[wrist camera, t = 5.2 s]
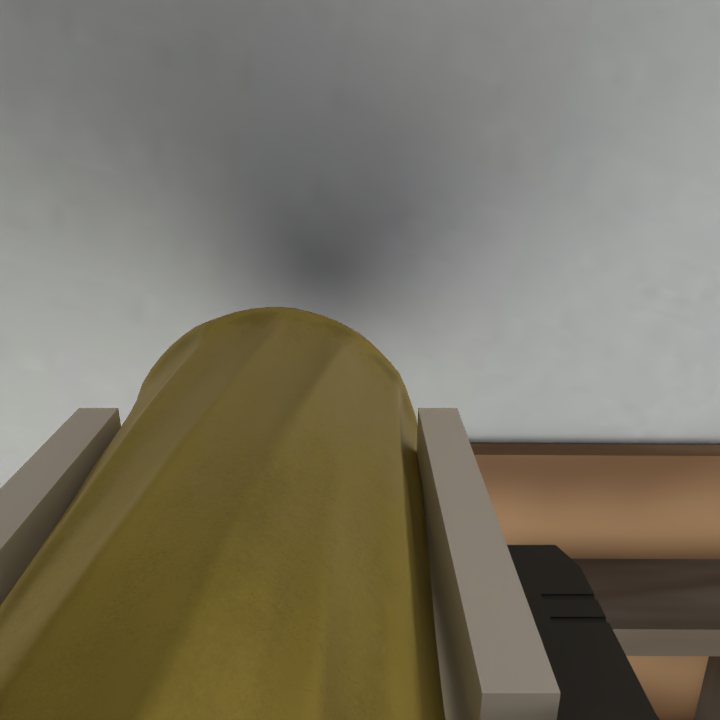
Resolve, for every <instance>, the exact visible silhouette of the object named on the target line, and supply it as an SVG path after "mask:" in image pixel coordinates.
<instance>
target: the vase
mask: <svg viewBox="0 0 720 720" xmlns="http://www.w3.org/2000/svg"><path fill="white" fill-rule="evenodd" d="M417 427H418V426H417V421H416V416H415V413H414V410H413V407H412V405H411V402H410V399H409V396H408V393H407V390H406V388H405V385H404V383H403V380H402V378H401V376H400V374H399V372H398V371H397V370H396V369H395V367H394V366H393V365H392V364H391V363H390V362H389V361H388V359H387V358H386V357H385V356H384V355H383V354H382V353H381V352H380V351H379V350H378V349H377V348H376V347H375V346H374V345H373V344H372V343H371V342H370V341H368V340H367V339H366V338H364V337H363V336H362V335H360V334H359V333H357V332H356V331H354V330H352V329H351V328H349V327H347V326H345V325H343V324H341V323H339V322H337V321H335V320H332V319H330V318H327V317H325V316H322V315H318V314H315V313H312V312H308V311H303V310H299V309H294V308H284V307H266V308H256V309H249V310H244V311H239V312H234V313H231V314H228V315H225V316H222V317H219V318H216V319H213V320H211V321H208V322H205V323H203V324H201V325H199V326H197V327H195V328H193V329H192V330H190V331H189V332H187V333H186V334H185V335H183V336H182V337H181V338H180V339H179V340H177V341H176V342H175V343H174V344H173V345H172V346H171V347H170V348H169V349H168V350H167V351H166V352H165V353H164V354H163V355H162V356H161V357H160V358H159V360H158V361H157V362H156V364H155V365H154V366H153V367H152V369H151V370H150V372H149V374H148V375H147V377H146V379H145V380H144V382H143V384H142V386H141V389H140V392H139V395H138V398H137V401H136V403H135V405H134V407H133V409H132V410H131V412H130V414H129V415H128V417H127V419H126V420H125V422H124V423H123V425H122V426H121V428H120V429H119V431H118V432H117V434H116V435H115V437H114V438H113V439H112V441H111V442H110V443H109V445H108V446H107V447H106V449H105V450H104V452H103V453H102V455H101V456H100V458H99V459H98V460H97V462H96V464H95V465H94V467H93V468H92V470H91V471H90V473H89V475H88V476H87V478H86V479H85V481H84V482H83V484H82V486H81V487H80V489H79V491H78V492H77V494H76V496H75V497H74V499H73V500H72V502H71V504H70V505H69V507H68V508H67V510H66V511H65V513H64V514H63V516H62V517H61V519H60V520H59V522H58V523H57V525H56V526H55V527H54V529H53V530H52V532H51V533H50V535H49V536H48V537H47V539H46V540H45V542H44V543H43V545H42V546H41V547H40V549H39V550H38V552H37V553H36V555H35V556H34V558H33V559H32V560H31V562H30V563H29V565H28V566H27V568H26V569H25V571H24V572H23V574H22V575H21V577H20V578H19V579H18V581H17V582H16V584H15V585H14V587H13V588H12V590H11V591H10V592H9V594H8V595H7V597H6V598H5V599H4V601H3V602H2V603H1V605H0V720H446V718H445V712H444V705H443V696H442V687H441V678H440V669H439V660H438V651H437V642H436V633H435V622H434V611H433V599H432V587H431V575H430V563H429V551H428V540H427V530H426V520H425V510H424V501H423V492H422V484H421V477H420V471H419V465H418V459H417V453H416V452H417Z"/></svg>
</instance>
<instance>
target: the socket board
mask: <svg viewBox="0 0 720 720" xmlns="http://www.w3.org/2000/svg"><path fill="white" fill-rule="evenodd" d="M470 445H471V448H472V450H473V453H474V456H475V459H476V461H477V464H478V467H479V470H480V472H481V475H482V478H483V481H484V483H485V486H486V489H487V492H488V494H489V497H490V500H491V503H492V506H493V508H494V511H495V514H496V517H497V519H498V522H499V525H500V528H501V530H502V533H503V536H504V539H505V541H506V544H507V545H556V546H557V547H559V548H560V549H561V550H562V551H563V552H564V553H565V554H566V555H568V556H569V557H570V558H571V559H572V560H573V561H574V562H575V563H576V564H578V565H579V566H580V567H581V569H582V571H583V573H584V575H585V577H586V579H587V581H588V583H589V584H590V586H591V588H592V590H593V592H594V597H595V599H597V600H598V602H599V604H600V606H601V608H602V610H603V612H604V614H605V616H606V622H607V623H610V625H611V627H612V629H613V631H614V633H615V635H616V637H617V639H618V641H619V643H620V645H621V647H622V649H623V651H624V653H625V655H626V657H627V659H628V661H629V663H630V664H631V666H632V668H633V670H634V672H635V674H636V676H637V678H638V680H639V682H640V684H641V686H642V688H643V690H644V692H645V694H646V696H647V698H648V700H649V702H650V704H651V705H652V707H653V709H654V711H655V713H656V715H657V716H658V718H659V719H660V720H720V444H525V443H470Z"/></svg>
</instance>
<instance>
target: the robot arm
mask: <svg viewBox="0 0 720 720" xmlns="http://www.w3.org/2000/svg"><path fill="white" fill-rule="evenodd" d="M120 428H121V424H120V417H119V410H118V408H79V409H78V410H77V411H76V412H75V413H74V414H73V415H72V416H71V417H70V418H69V419H68V420H67V421H66V422H65V423H64V424H63V425H62V426H61V427H60V428H59V429H58V430H57V431H56V432H55V433H54V434H53V435H52V436H51V437H50V438H49V439H48V440H47V441H46V442H45V444H44V445H43V446H42V447H41V448H40V449H39V450H38V451H37V452H36V453H35V454H34V455H33V456H32V457H31V458H30V459H29V460H28V461H27V462H26V463H25V464H24V465H23V466H22V467H21V468H20V469H19V470H18V471H17V472H16V473H15V474H14V475H13V476H12V477H11V478H10V479H9V480H8V481H7V482H6V484H5V485H4V486H3V487H2V488H1V489H0V605H1V603H2V602H3V601H4V599H5V598H6V597H7V595H8V594H9V592H10V591H11V590H12V588H13V587H14V585H15V584H16V582H17V581H18V579H19V578H20V577H21V575H22V574H23V572H24V571H25V569H26V568H27V566H28V565H29V563H30V562H31V560H32V559H33V558H34V556H35V555H36V553H37V552H38V550H39V549H40V547H41V546H42V545H43V543H44V542H45V540H46V539H47V537H48V536H49V535H50V533H51V532H52V530H53V529H54V527H55V526H56V525H57V523H58V522H59V520H60V519H61V517H62V516H63V514H64V513H65V511H66V510H67V508H68V507H69V505H70V504H71V502H72V500H73V499H74V497H75V496H76V494H77V492H78V491H79V489H80V487H81V486H82V484H83V482H84V481H85V479H86V478H87V476H88V475H89V473H90V471H91V470H92V468H93V467H94V465H95V464H96V462H97V460H98V459H99V458H100V456H101V455H102V453H103V452H104V450H105V449H106V447H107V446H108V445H109V443H110V442H111V441H112V439H113V438H114V437H115V435H116V434H117V432H118V431H119V429H120ZM416 453H417V459H418V465H419V471H420V477H421V484H422V492H423V501H424V510H425V520H426V530H427V540H428V551H429V563H430V575H431V587H432V599H433V611H434V622H435V633H436V642H437V651H438V660H439V669H440V678H441V687H442V696H443V705H444V712H445V718H446V720H660V719H659V718H658V716H657V715H656V713H655V711H654V709H653V707H652V705H651V704H650V702H649V700H648V698H647V696H646V694H645V692H644V690H643V688H642V686H641V684H640V682H639V680H638V678H637V676H636V674H635V672H634V670H633V668H632V666H631V664H630V663H629V661H628V659H627V657H626V655H625V653H624V651H623V649H622V647H621V645H620V643H619V641H618V639H617V637H616V635H615V633H614V631H613V629H612V627H611V625H610V623H607V622H606V616H605V614H604V612H603V610H602V608H601V606H600V604H599V602H598V600H597V599H595V597H594V592H593V590H592V588H591V586H590V584H589V583H588V581H587V579H586V577H585V575H584V573H583V571H582V569H581V567H580V566H579V565H578V564H576V563H575V562H574V561H573V560H572V559H571V558H570V557H569V556H568V555H566V554H565V553H564V552H563V551H562V550H561V549H560V548H559V547H557V546H556V545H507V544H506V541H505V539H504V536H503V533H502V530H501V528H500V525H499V522H498V519H497V517H496V514H495V511H494V508H493V506H492V503H491V500H490V497H489V494H488V492H487V489H486V486H485V483H484V481H483V478H482V475H481V472H480V470H479V467H478V464H477V461H476V459H475V456H474V453H473V450H472V448H471V445H470V442H469V439H468V437H467V434H466V431H465V428H464V426H463V423H462V420H461V417H460V415H459V412H458V409H457V408H418V427H417V452H416Z"/></svg>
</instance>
